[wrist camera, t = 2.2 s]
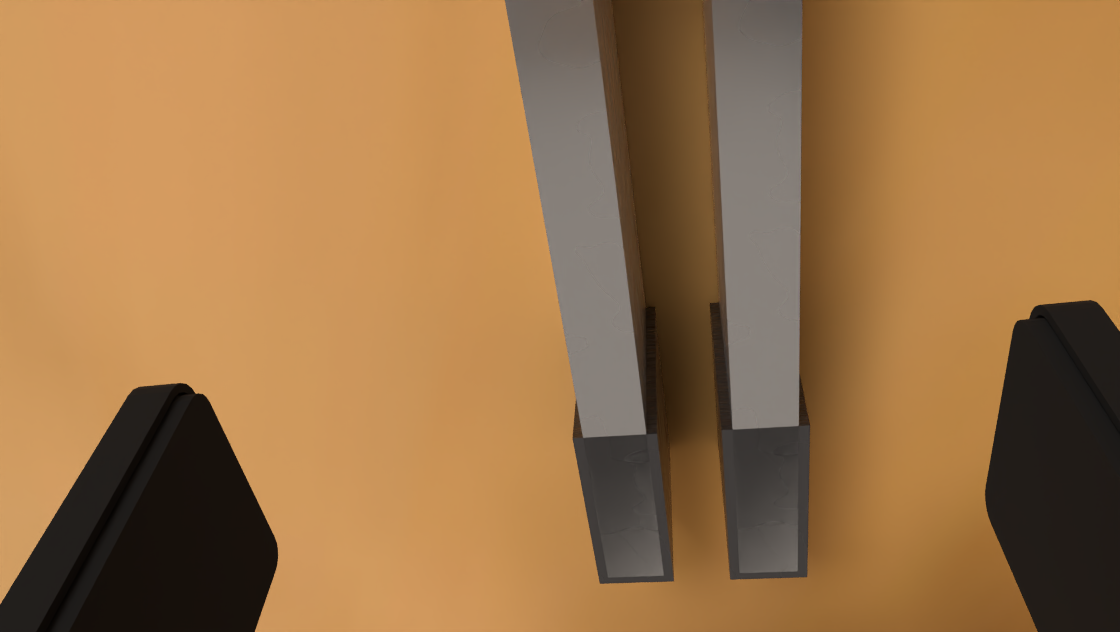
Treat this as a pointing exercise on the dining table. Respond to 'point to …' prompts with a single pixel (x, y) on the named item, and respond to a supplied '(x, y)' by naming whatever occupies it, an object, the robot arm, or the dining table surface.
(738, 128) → the tongs
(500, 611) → the dining table surface
